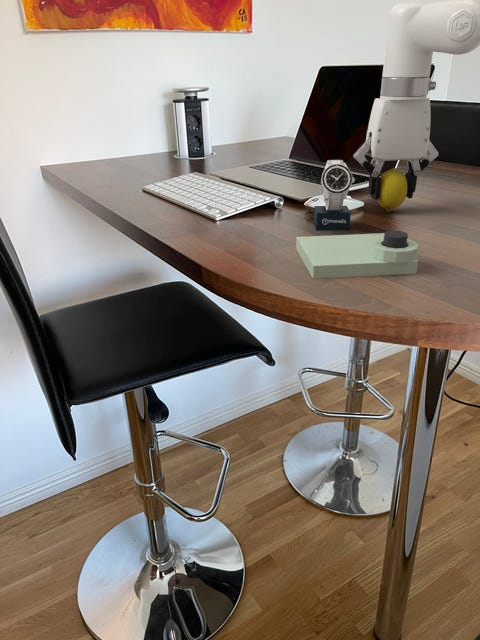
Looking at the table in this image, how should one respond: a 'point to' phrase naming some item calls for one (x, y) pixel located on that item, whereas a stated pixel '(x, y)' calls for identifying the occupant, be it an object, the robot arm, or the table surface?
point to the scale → (355, 256)
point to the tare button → (395, 239)
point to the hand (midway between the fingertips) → (390, 196)
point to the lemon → (392, 189)
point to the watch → (334, 198)
